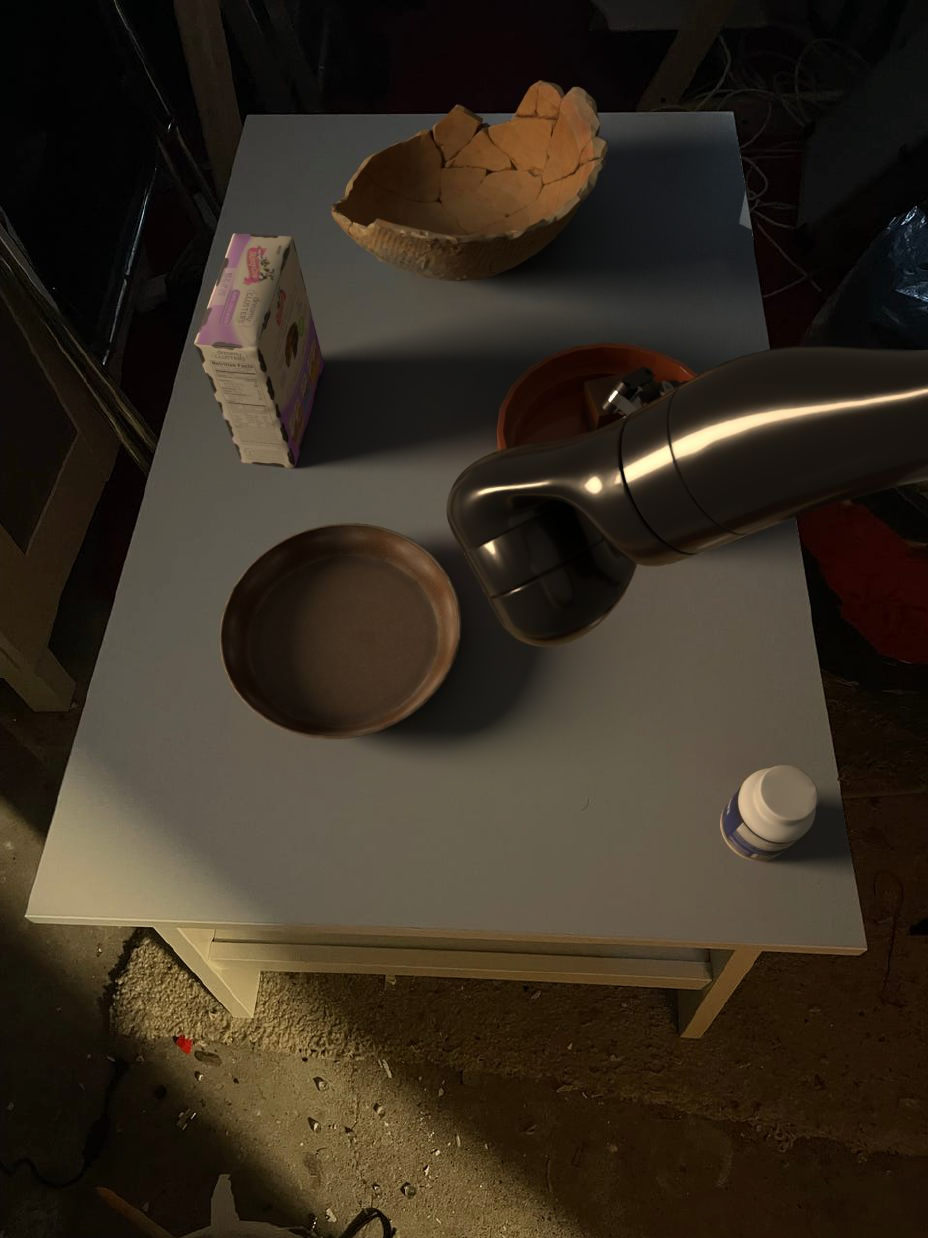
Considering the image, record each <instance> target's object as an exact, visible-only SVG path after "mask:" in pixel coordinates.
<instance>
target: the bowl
mask: <svg viewBox="0 0 928 1238" xmlns="http://www.w3.org/2000/svg"><path fill="white" fill-rule="evenodd" d="M641 367H647V368H649V369H651V370H652V372H653V373H654V375H655V377H654V378H653V380H654V381H656V382H657V383H659V384H660V383H661V382H662V381H666V382H670V381H672V380H678V381H679V382H680V383H681V382H684V381H689V380H691V379H692V378H694V377H696V376H698V375H699V374H697V372H695V371H694V370H692V369H691V368H690V367H689V366H688V365H686V364H685V363H683V362H681V361H679V360H677V359H675V358H673V357H671V356H669V355H667V354H665V353H663V352H661V351H658V350H654V349H651V348H647V347H642V346H638V345H635V344H632V343H631V344H630V343H629V344H628V343H616V342H598V343H589V344H582V345H575V346H572V347H569V348H566V349H563V350H559V351H557V352H554V353H552V354H549V355H547V356H546V357H544V358H543V359H541V360H540V361H538V362H536V363H535V364H533V365H531V366H529V367H528V368H527V369H526V370H525V371H524V372H523V373H522V374H521V375H520V376H519V377H518V378H517V380H515V382H514V383H513V384H511V386H510V387H509V389H508V391H507V393H506V395H505V397H504V399H503V401H502V404H501V405H500V407H499V411H498V412H499V413H498V420H497V428H496V452H497V451H500V450H503V449H507V448H511V447H515V446H519V445H524V444H530V443H536V442H542V441H549V440H556V439H562V438H567V437H572V436H575V435H579V434H583V433H586V432H588V430H587V427H586V425H585V422H584V419H583V417H582V414H581V407H582V400H583V392H584V384H585V381H589V380H594V379H599V378H603V377H608V376H613V375H618V374H623V373H628V372H629V373H632V372H634V371H636V370H637V369H639V368H641ZM641 401H642V400H641ZM642 403H643V405H644V403H645V402H644V401H642Z"/></svg>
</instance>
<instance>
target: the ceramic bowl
mask: <svg viewBox="0 0 928 1238" xmlns="http://www.w3.org/2000/svg"><path fill="white" fill-rule="evenodd" d="M600 128H601V122H600V117H599V113H598V106H597V102H596V100H595V99H594V98H593V97H592V96H591V95H590V94H588V92H587V91H586V90H585V89H584V88H581V87H580V86H572V88H571V89H569V91H568V92H567V93H566V94H565V93H564V91H563V88H562V87H561V86H560V85H559V84H557V83H555V82H549V81H545V80H542V79H540V80H538V81H537V82H535V83H533V84H532V85H530V87H529V88H528V90H527V92H526V93H525V95H524V97H523V98H522V101H521V102H520V104H519V105H518V107H517V110H516V112H515V113H513V115H512V117H511V118H510V119H509V120H506V121H504V122H501V123H496V124H492V125H490V124H489V123H488V122H484V118H483V117H482V116H479V114H476V113H475V112H473V111H472V110H470V109H468V108H466V107H464V106H463V104H456V105H455V106H454V107H452V109H451V110H450V111H449V112H448V113H447V114H446V115H445V116H444V117H443V118H441V119H440V120H439V121H438V122H436V123H435V124H433V126H432V129H431V128H429V127H428V128H425V129H421V130H419V132H417V133H416V134H415V135H413V136H410V138H408V139H406V140H403V141H399V142H395V143H393V144H391V145H389V146H387V148H385V149H383V150H380V151H378V152H376V153H373V154H370V155H369V156H368V157H366V158H364V160H363V162H362V163H361V165H359V168H358V169H357V171H356V172H355V173H354V174H352V177H351V178H350V180H349V181H348V183H347V185H346V187H345V195H344V196H343V197H342V198H341V199H339V200H337V201H336V202H335V203H331V216H332V218H333V219H334V221H335V222H336V223H337V224H338V225H339V227H341V229H342V230H343V231H344V232H345V234H347V235H348V236H349V237H350V238H351V239H352V240H353V241H354V242H355V243H356V244H357V245H358V246H360V247H361V248H362V249H364V250H365V251H367V252H368V253H369V254H370V255H372V256H373V257H375V258H376V259H377V260H378V261H379V262H381V263H385V264H387V265H388V266H391V267H393V268H395V269H397V270H400V271H402V272H406V273H409V274H412V275H415V276H418V277H423V278H425V279H431V280H438V281H444V282H464V281H465V282H466V281H474V280H482V279H486V278H489V277H493V276H496V275H499V274H500V273H503V272H505V271H508V270H511V269H514V268H515V267H516V266H518V265H520V264H522V263H524V262H525V261H527V260H528V259H530V258H532V257H533V256H535V255H536V254H538V253H539V252H540V251H542V250H543V249H544V248H545V247H546V246H547V245H548V244H550V243H551V242H552V241H553V240H554V239H555V238H556V237H557V236H558V235H559V234H560V233H561V232H562V231H563V230H564V229H565V228H566V227H567V225H568V224H569V222H570V221H571V220H572V219H573V217H574V216H575V214H576V213H577V211H578V209H579V208H580V206H581V204H582V203H583V202H584V201H585V200H586V199H587V198H588V196H589V195H590V194H591V192H592V191H593V190H594V188H595V187H596V184H597V180H598V177H599V175H600V173H601V171H602V170H603V169H604V167H605V166H606V164H607V162H606V158H607V156H608V152H609V150H610V148H609V143H608V141H607V140H606V139H605V138H603V137H602V136H599V134H600Z"/></svg>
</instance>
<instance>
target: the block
mask: <svg viewBox="0 0 928 1238" xmlns="http://www.w3.org/2000/svg"><path fill="white" fill-rule="evenodd" d="M628 374H630V373H629V372H628V373H623V374H618V375H613V376H608V377H603V378H599V379H594V380H589V381H585V384H584V392H583V400H582V407H581V414H582V417H583V419H584V422H585V425H586V427H587V430H588V432H590V431H593V430H596V429H599V428H601V427H604V426H606V425H608V424H610V423H613V422H615V421H617V420H619V419H621V418H623V417H625V416H627V415H626V414H624V415H621V414H620V413H619V412H617V413H615V414H610V413H608V412H606V411H605V410H604V409H603V407H602V403H603V402H604V401H605V399H606V398H607V397H608V395H609V394H610V393H611V391H612V390H613V389H614V387H615V386H616V385H617V383H618V382H619V381H620V379H621V378H623V377H625V376H627V375H628ZM640 404H641V406H642V407H643V403H642V401H640Z"/></svg>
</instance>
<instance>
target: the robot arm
mask: <svg viewBox="0 0 928 1238" xmlns="http://www.w3.org/2000/svg"><path fill="white" fill-rule="evenodd" d="M697 375H698V376H696V377H694V378H692V379H691V380H689V381H684V382H681V383H680V382H679V381H678V380H672V381H670V382H666V381H662V382H661V383H660V384H659V383H657V382H656V381H654V380H653V378H654V377H655V375H654V373H653V372H652V370H651V369H649V368H647V367H641V368H639V369H637V370H636V371H634V372H632V373H630V374H628V375H627V376H625V377H623V378H621V379H620V381H619V382H618V383H617V385H616V386H615V387H614V389H613V390H612V391H611V393H610V394H609V395H608V397H607V398H606V399H605V401H604V402H603V403H602V407H603V409H604V410H605V411H606V412H608V413H610V414H615V413H617V412H619V413H620V414H621V415H624V414H626V415H627V416H625V417H623V418H621V419H619V420H617V421H615V422H613V423H610V424H608V425H606V426H604V427H601V428H599V429H596V430H593V431H590V432H586V433H583V434H579V435H575V436H572V437H567V438H562V439H556V440H549V441H542V442H536V443H530V444H524V445H519V446H515V447H511V448H507V449H503V450H500V451H497V450H496V451H493V452H492V453H489V454H487V455H484V456H483V457H481V458H479V459H477V460H475V461H473V462H472V463H471V464H470V465H468V466H467V467H466V468H464V469H463V471H462V472H461V473H460V474H459V475H458V477H457V478H456V479H455V481H454V482H453V484H452V486H451V488H450V491H449V494H448V497H447V501H446V509H445V511H446V519H447V523H448V525H449V528H450V531H451V533H452V535H453V537H454V539H455V541H456V542H457V544H458V547H459V548H460V550H461V552H462V553H463V554H464V557H465V559H466V561H467V563H468V565H469V567H470V568H471V571H472V572H473V574H474V576H475V579H476V580H477V582H478V584H479V586H480V588H481V590H482V591H483V593H484V594H485V597H487V598H488V603H489V605H490V607H491V608H492V610H493V612H494V614H495V616H496V618H497V620H498V622H499V623H500V624H501V626H503V628H504V629H505V631H506V632H507V633H508V634H510V635H511V637H513V638H514V639H516V640H517V641H519V642H522V643H523V644H527V645H530V646H534V647H535V646H536V647H543V648H550V647H557V646H561V645H566V644H569V643H571V642H574V641H576V640H578V639H580V638H582V637H583V636H585V635H586V634H588V633H590V632H592V631H593V630H594V629H595V628H597V627H598V626H599V625H600V624H601V623H602V622H603V621H605V619H607V618H608V616H609V615H610V614H611V613H612V612H613V611H614V610H615V609H616V607H617V606H618V605H619V603H620V601H621V600H622V599H623V597H624V596H625V594H626V593H627V591H628V589H629V586H630V584H631V582H632V580H633V577H634V576H635V573H636V569H637V567H638V565H639V566H642V567H643V566H644V567H663V566H666V565H671V564H675V563H678V562H680V561H683V560H686V559H688V558H691V557H694V556H697V555H699V554H701V553H704V552H707V551H710V550H713V549H715V548H718V547H720V546H723V545H725V544H728V543H731V542H733V541H736V540H739V539H742V538H743V537H746V536H749V535H751V534H754V533H756V532H760V531H762V530H764V529H767V528H770V527H772V526H775V525H777V524H780V523H782V522H785V521H788V520H790V519H794V518H796V517H799V516H803V515H805V514H808V513H811V512H814V511H817V510H820V509H822V508H826V507H829V506H832V505H836V504H839V503H843V502H845V501H849V500H852V499H857V498H859V497H863V496H866V495H870V494H875V493H879V492H882V491H886V490H890V489H893V488H898V487H901V486H906V485H911V484H915V483H920V482H925V481H928V349H921V350H920V349H918V350H917V349H894V348H892V349H891V348H872V347H871V348H869V347H856V346H855V347H854V346H844V345H843V346H841V345H840V346H839V345H807V344H806V345H804V344H803V345H789V346H787V345H786V346H781V347H773V348H767V349H763V350H758V351H755V352H751V353H747V354H743V355H740V356H737V357H735V358H732V359H728V360H726V361H724V362H721V363H719V364H717V365H715V366H713V367H712V368H709V369H707V370H705V371H703V372H701V373H699V374H697ZM641 400H642V401H644V402H645V403H644V405H643V407H642V406H641V404H640V401H641Z"/></svg>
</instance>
